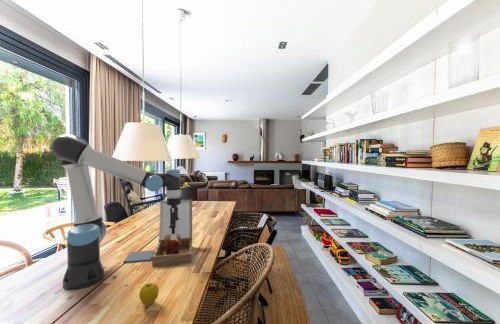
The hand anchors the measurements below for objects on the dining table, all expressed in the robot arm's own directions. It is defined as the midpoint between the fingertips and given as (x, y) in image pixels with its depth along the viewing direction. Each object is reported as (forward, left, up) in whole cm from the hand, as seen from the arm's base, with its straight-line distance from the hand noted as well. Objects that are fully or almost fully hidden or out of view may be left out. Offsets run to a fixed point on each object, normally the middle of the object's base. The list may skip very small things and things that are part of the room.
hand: (174, 235), depth 134 cm
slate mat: (+2, +18, -11) cm, 21 cm away
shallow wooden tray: (0, 0, -11) cm, 11 cm away
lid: (+15, 0, +6) cm, 16 cm away
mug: (0, 0, -11) cm, 11 cm away
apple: (-45, +5, -11) cm, 47 cm away
